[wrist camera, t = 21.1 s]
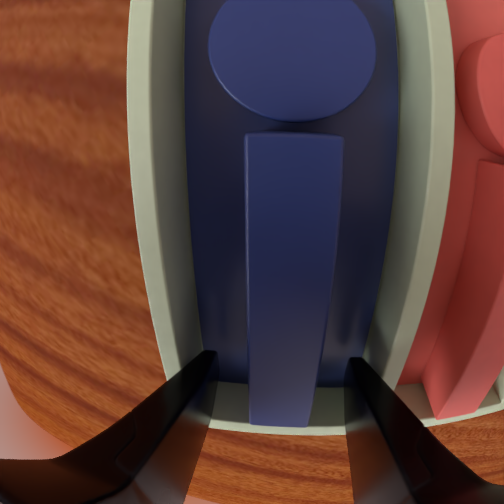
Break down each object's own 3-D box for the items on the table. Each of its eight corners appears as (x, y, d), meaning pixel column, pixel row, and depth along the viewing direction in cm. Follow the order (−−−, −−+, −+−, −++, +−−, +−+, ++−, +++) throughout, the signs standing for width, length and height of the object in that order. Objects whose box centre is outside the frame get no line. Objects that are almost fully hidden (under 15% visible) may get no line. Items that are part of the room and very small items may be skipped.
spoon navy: (332, 379, 10) (336, 428, 8) (231, 374, 10) (219, 422, 8) (361, 0, 5) (383, -36, 3) (219, -3, 6) (196, -40, 4)
